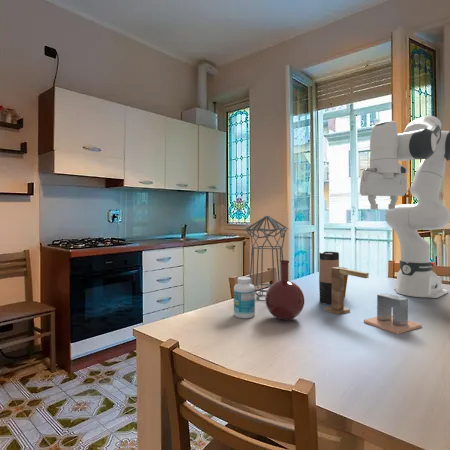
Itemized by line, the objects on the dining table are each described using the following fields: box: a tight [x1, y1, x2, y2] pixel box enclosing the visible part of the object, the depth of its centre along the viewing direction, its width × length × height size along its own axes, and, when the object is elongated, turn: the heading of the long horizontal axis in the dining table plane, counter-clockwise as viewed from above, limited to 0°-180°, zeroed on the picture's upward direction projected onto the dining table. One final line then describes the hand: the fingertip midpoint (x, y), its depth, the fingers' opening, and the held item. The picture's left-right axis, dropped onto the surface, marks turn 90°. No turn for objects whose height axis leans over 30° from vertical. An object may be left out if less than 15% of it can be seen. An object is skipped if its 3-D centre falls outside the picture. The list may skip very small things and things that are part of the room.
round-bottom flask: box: [264, 259, 305, 321], centre depth 114 cm, size 13×13×20 cm
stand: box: [325, 266, 369, 315], centre depth 118 cm, size 6×16×16 cm, turn 29°
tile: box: [363, 315, 423, 335], centre depth 108 cm, size 12×12×1 cm
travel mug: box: [318, 251, 340, 306], centre depth 134 cm, size 8×8×20 cm
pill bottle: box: [233, 276, 256, 319], centre depth 118 cm, size 8×7×14 cm
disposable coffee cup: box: [340, 266, 349, 298], centre depth 143 cm, size 10×10×12 cm
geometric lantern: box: [244, 215, 289, 302], centre depth 141 cm, size 16×16×35 cm
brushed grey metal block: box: [376, 292, 409, 327], centre depth 108 cm, size 8×4×8 cm, turn 29°
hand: (383, 209), depth 116 cm, fingers open, 8 cm apart
